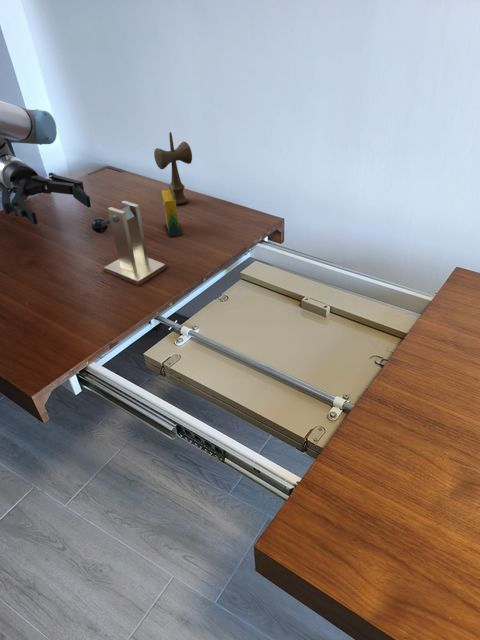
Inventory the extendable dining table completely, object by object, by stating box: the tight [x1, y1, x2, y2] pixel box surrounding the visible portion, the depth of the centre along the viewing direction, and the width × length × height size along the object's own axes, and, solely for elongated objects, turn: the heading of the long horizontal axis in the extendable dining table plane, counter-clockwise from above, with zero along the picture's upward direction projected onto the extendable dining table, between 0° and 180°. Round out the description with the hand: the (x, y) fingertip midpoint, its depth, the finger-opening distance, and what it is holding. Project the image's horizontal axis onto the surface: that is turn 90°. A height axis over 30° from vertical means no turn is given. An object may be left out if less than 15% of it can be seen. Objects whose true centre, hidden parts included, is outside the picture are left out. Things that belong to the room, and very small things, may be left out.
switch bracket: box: [103, 200, 167, 286], centre depth 107 cm, size 11×9×16 cm
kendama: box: [153, 131, 193, 206], centre depth 135 cm, size 6×10×20 cm, turn 126°
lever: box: [90, 206, 134, 234], centre depth 107 cm, size 14×4×4 cm, turn 57°
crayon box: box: [161, 182, 181, 238], centre depth 124 cm, size 7×3×12 cm, turn 15°
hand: (62, 210), depth 110 cm, fingers open, 13 cm apart
